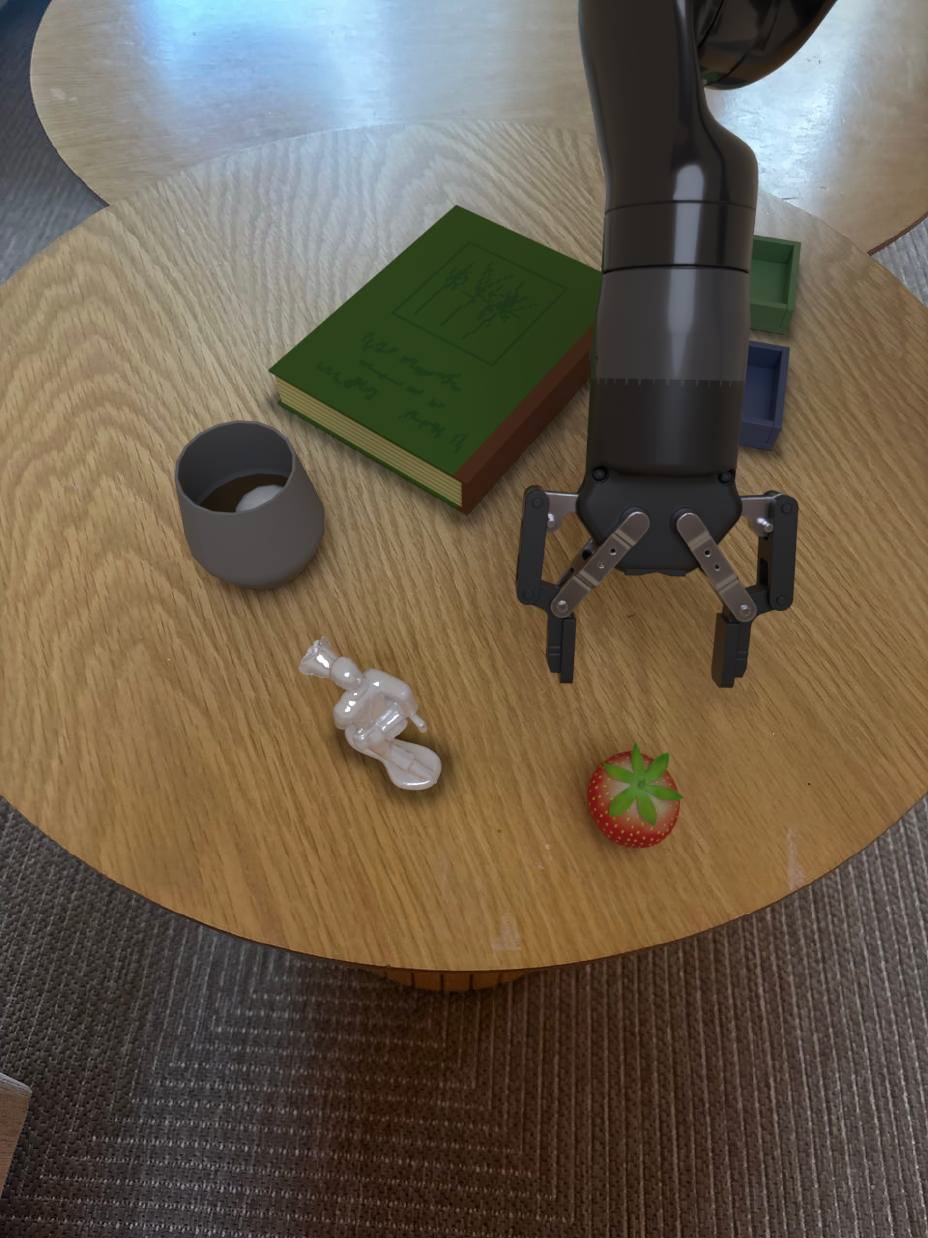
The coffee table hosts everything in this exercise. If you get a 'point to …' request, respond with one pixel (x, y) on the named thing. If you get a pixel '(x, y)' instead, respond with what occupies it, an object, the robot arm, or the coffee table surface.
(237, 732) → the coffee table surface
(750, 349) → the blue tray
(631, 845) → the fruit
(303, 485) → the cup
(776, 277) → the green tray
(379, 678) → the figurine
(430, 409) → the hardcover book
